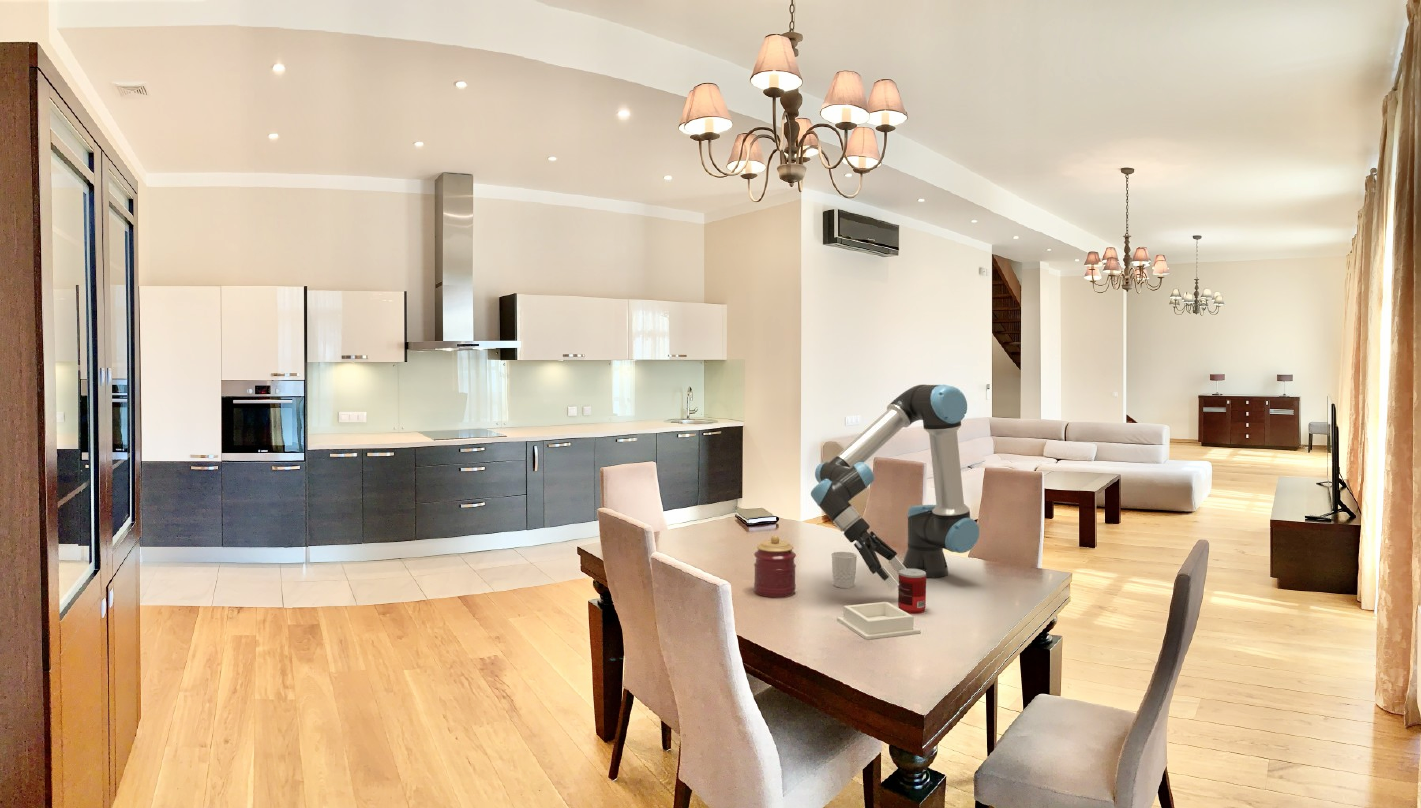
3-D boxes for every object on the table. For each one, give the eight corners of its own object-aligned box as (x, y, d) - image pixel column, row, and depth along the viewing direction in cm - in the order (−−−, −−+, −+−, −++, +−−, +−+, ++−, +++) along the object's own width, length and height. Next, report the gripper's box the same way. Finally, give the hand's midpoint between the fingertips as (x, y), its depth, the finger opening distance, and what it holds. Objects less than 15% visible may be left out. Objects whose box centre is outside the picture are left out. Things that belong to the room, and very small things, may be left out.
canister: (802, 596, 232) (802, 538, 231) (762, 599, 229) (762, 541, 228) (786, 584, 245) (786, 530, 244) (748, 587, 241) (748, 532, 240)
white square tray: (888, 614, 215) (888, 599, 215) (920, 633, 200) (920, 617, 200) (837, 620, 210) (837, 604, 210) (866, 639, 195) (866, 623, 195)
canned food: (926, 606, 222) (927, 569, 222) (924, 615, 215) (925, 576, 214) (899, 604, 225) (900, 567, 224) (896, 612, 217) (897, 574, 217)
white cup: (856, 589, 239) (856, 558, 239) (830, 588, 241) (831, 556, 241) (856, 582, 247) (856, 552, 247) (832, 581, 249) (832, 550, 248)
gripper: (855, 525, 238) (902, 579, 232) (829, 540, 216) (880, 600, 210) (872, 510, 236) (920, 564, 229) (848, 524, 214) (900, 584, 207)
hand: (901, 581), depth 220 cm, fingers open, 13 cm apart
